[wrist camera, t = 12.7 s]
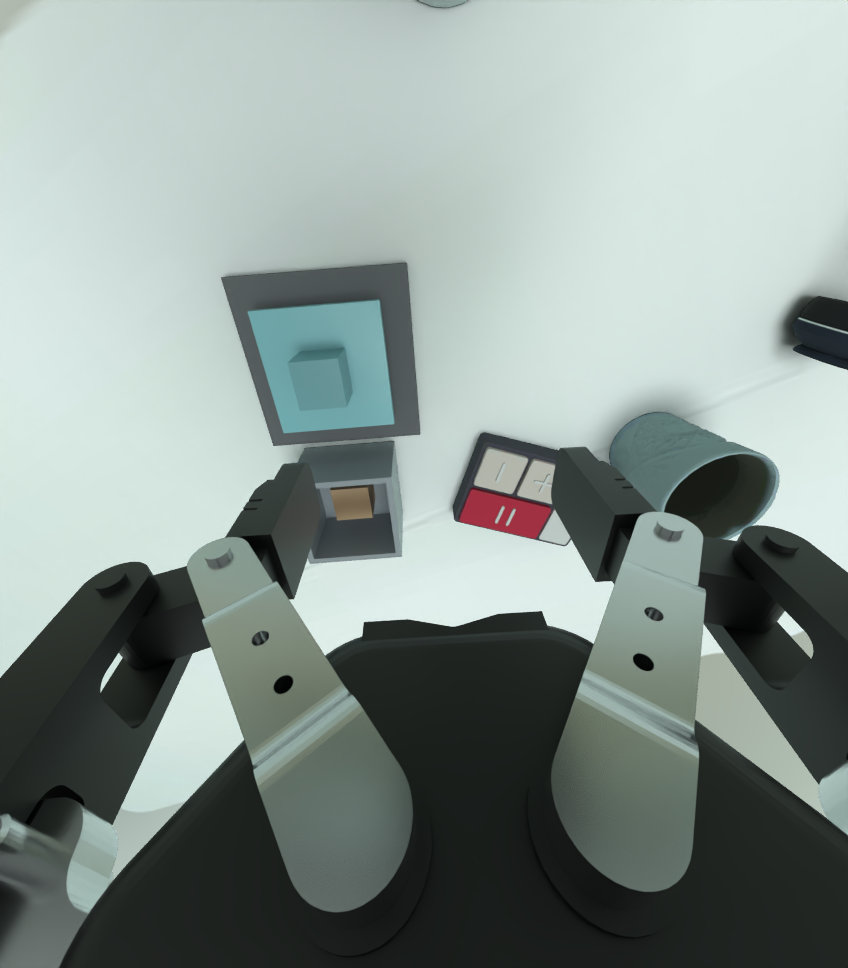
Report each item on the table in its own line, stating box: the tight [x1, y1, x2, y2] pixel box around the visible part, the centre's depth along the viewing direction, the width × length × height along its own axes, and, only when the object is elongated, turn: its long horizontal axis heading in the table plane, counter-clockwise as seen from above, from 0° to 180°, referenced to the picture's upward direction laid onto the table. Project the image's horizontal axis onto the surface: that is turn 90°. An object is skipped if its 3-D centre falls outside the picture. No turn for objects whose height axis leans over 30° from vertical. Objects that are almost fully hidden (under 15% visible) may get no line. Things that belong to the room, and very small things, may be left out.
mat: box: [221, 263, 420, 446], centre depth 36 cm, size 16×16×1 cm
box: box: [298, 441, 403, 564], centre depth 40 cm, size 10×10×8 cm
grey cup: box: [609, 413, 779, 540], centre depth 38 cm, size 10×10×12 cm
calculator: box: [453, 433, 571, 546], centre depth 44 cm, size 11×4×15 cm
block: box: [330, 484, 375, 520], centre depth 42 cm, size 4×4×4 cm
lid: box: [248, 299, 395, 433], centre depth 33 cm, size 11×11×7 cm
